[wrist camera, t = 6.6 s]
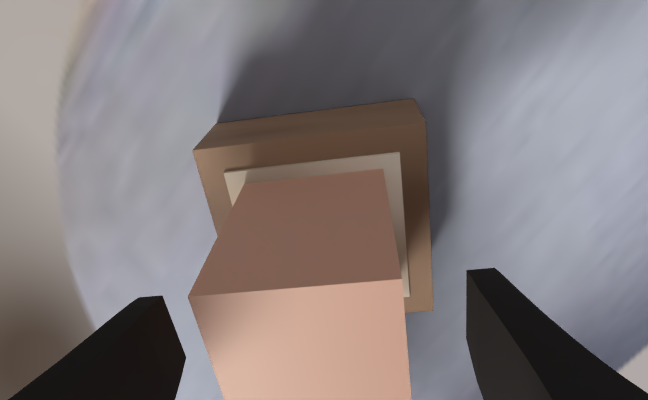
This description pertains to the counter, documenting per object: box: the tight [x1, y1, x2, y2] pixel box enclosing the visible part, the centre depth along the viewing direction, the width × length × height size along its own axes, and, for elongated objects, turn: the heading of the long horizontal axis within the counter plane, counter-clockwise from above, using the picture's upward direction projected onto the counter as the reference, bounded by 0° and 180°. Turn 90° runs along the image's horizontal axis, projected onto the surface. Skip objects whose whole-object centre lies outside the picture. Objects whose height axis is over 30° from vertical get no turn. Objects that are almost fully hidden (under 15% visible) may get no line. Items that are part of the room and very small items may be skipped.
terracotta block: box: [188, 169, 412, 400], centre depth 11 cm, size 4×4×5 cm
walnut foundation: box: [192, 99, 433, 313], centre depth 15 cm, size 6×6×3 cm
